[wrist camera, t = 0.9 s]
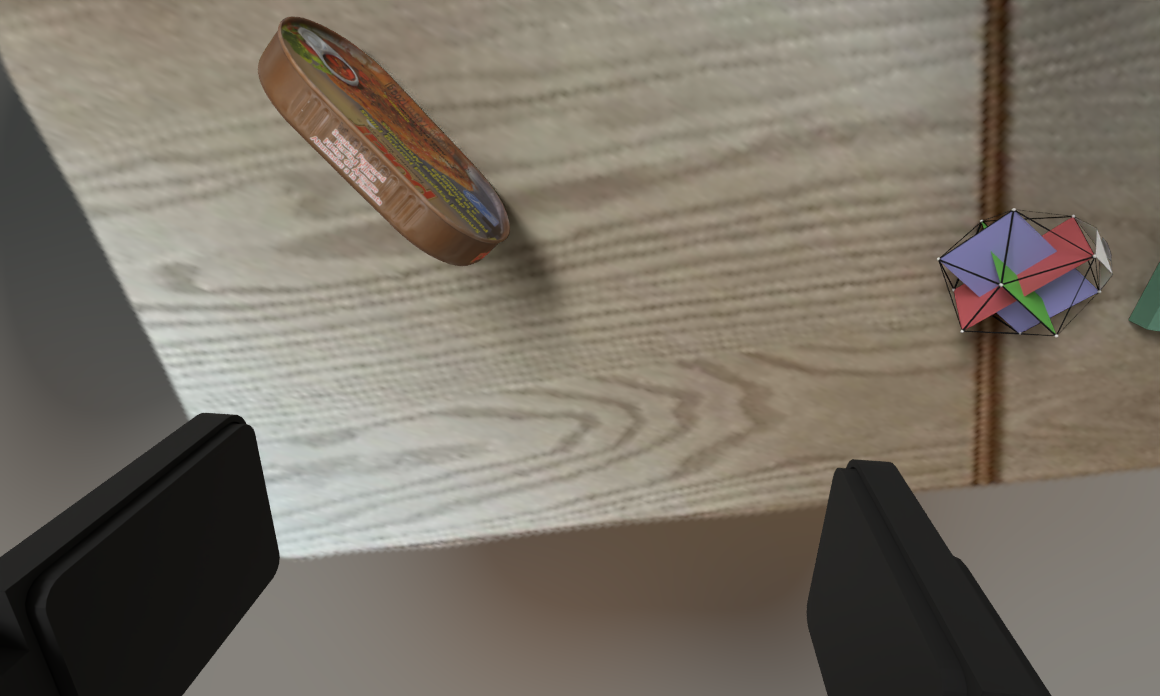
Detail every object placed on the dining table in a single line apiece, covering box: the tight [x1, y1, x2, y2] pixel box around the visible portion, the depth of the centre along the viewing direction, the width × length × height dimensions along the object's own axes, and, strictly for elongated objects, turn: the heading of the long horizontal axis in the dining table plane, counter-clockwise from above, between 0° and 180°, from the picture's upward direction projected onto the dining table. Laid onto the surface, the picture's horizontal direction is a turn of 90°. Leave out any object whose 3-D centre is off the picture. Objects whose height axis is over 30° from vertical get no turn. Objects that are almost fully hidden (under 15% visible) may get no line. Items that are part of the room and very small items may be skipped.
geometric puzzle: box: [937, 208, 1113, 337], centre depth 34 cm, size 7×7×8 cm
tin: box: [258, 17, 510, 266], centre depth 34 cm, size 15×3×8 cm, turn 43°
